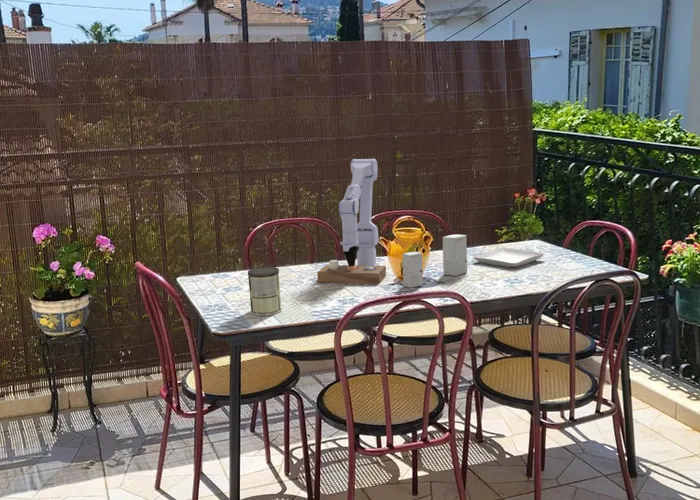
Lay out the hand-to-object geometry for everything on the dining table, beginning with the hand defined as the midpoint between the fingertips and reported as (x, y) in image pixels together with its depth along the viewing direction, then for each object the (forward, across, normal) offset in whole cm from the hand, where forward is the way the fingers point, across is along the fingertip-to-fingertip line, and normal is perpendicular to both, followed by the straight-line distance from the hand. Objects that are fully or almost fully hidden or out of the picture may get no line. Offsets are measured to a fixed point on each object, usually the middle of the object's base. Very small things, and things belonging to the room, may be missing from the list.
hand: (351, 265), depth 276 cm
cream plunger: (+3, 0, -7) cm, 7 cm away
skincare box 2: (+5, -12, +38) cm, 40 cm away
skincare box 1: (+6, +7, +25) cm, 27 cm away
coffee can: (+6, +44, -18) cm, 48 cm away
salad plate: (+6, -33, +57) cm, 66 cm away
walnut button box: (+5, 0, 0) cm, 5 cm away
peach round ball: (+4, 0, 0) cm, 4 cm away
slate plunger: (+5, 0, +7) cm, 9 cm away
